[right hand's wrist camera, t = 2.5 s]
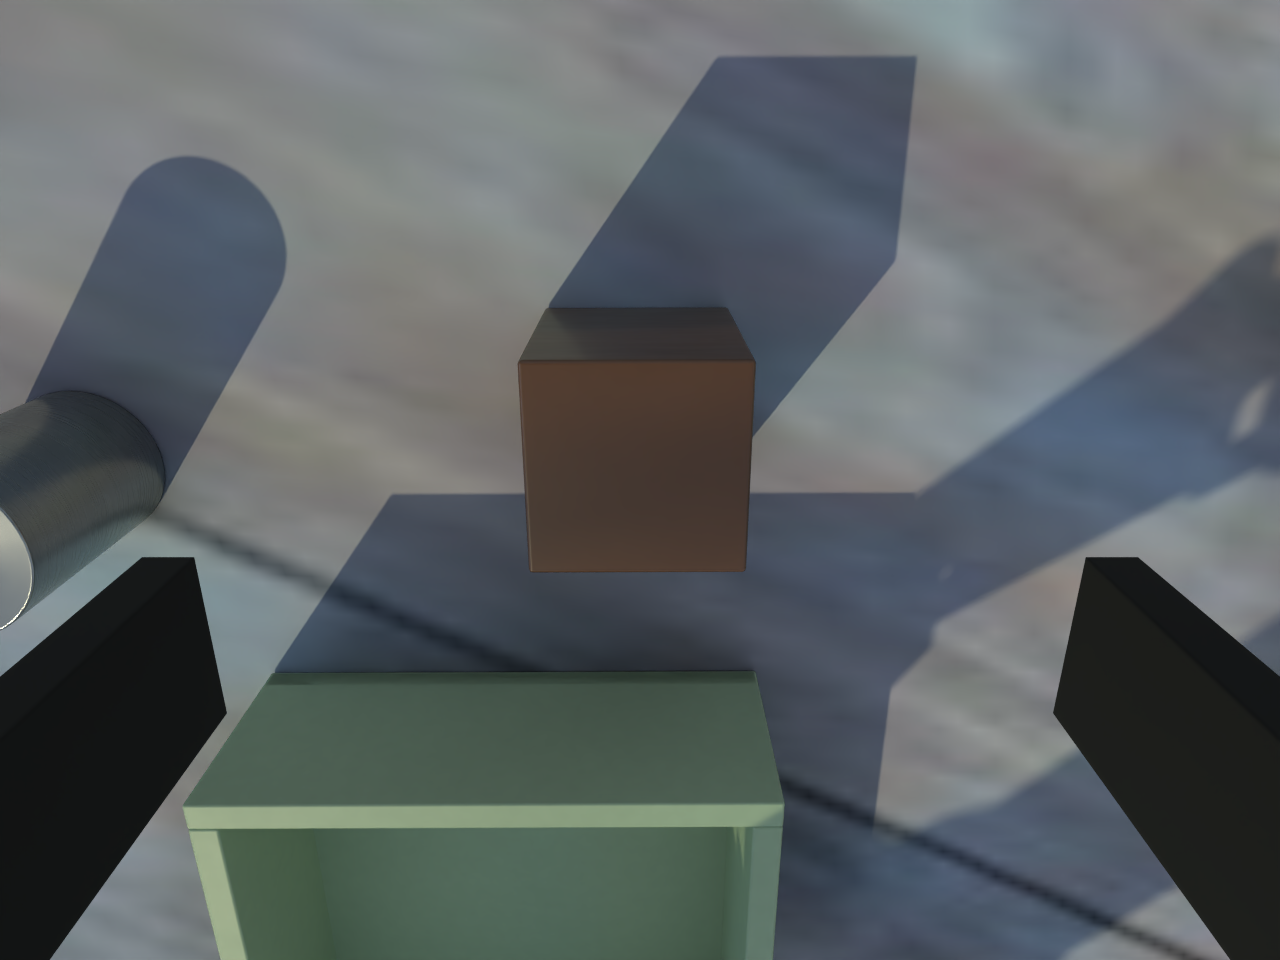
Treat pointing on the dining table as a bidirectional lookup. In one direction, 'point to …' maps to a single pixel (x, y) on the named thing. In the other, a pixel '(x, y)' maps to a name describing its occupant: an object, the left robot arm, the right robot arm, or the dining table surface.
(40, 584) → the grey metal peg
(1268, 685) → the right robot arm
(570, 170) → the dining table surface
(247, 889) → the tray
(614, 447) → the walnut block
